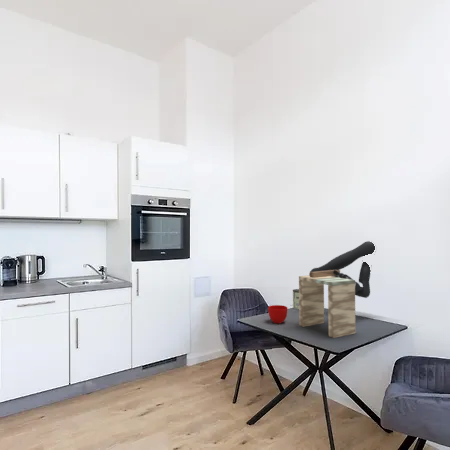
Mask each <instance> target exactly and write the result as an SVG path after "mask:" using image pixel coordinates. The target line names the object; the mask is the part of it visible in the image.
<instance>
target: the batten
mask: <svg viewBox="0 0 450 450" xmlns="http://www.w3.org/2000/svg"><path fill="white" fill-rule="evenodd" d="M336 271H337V272H340V273H341V269H340V270H336ZM333 272H334V270H327V271H316V272H310V271H309V273H310V277H312V278H317V277H327V276H337V275H336V274H334V273H333Z"/></svg>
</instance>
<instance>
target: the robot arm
mask: <svg viewBox="0 0 450 450" xmlns="http://www.w3.org/2000/svg"><path fill="white" fill-rule="evenodd" d="M372 242H373V241H371V242H370V240H367V241H364V242H363V243H361V244H360V245H358V246H356V247H355V248H354V249H351V250H349V251H347V252H344V253H341V254H339V255H337V256H336V257H333V258H332V259H331V260H330V261H328V262H327V263H325V264H324V265H321V266H319V267H314V268H312V269H311V270H310V271H309V275H310V272H316V271H327V270H334V272H333V273H334V274H336V275H337V276H332V277H339V278H345V279H351V280H354V278H352V277H351V276H349V275H348V274H344V273H343V272H341V270H342V269H345V268H346V267H348V266H350V265H351V264H353V263H354V262H355V261H357V260H358V259H361V258H363V256H365V255H368V254H372V253H373V252H374V250H375V246H376V245H375V246H374V244H375V243H374V242H373V243H374V244H373V243H372ZM362 262H363V261H362ZM362 262H361V266H360V270H359V276H358V282H357V281H356V280H355V297H359V298H365V299H367V298H369V296H370V295H371V286H370V278H371V273H370V272H371V271H372V269H371V270H370V267H369V265H368V264H367V263H366V262H363V263H362ZM336 270H340V272H337V271H336ZM360 284H361V285H362V286H361V285H360Z"/></svg>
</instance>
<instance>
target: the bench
mask: <svg viewBox="0 0 450 450" xmlns="http://www.w3.org/2000/svg"><path fill="white" fill-rule="evenodd" d="M355 281H356V279H353V280H351V279H345V278H339V277H332V276H327V277H317V278H312V277H310V275H300V276H298V289H299V309H298V310H299V311H298V315H299V317H298V321H299V322H298V323H299V326H301V327H303V328H304V327H309V326H316V325H321V324H325V286H327V301H328V302H327V303H328V304H327V306H328V308H327V309H328V310H327V311H328V312H327V313H328V315H327V316H328V318H327V319H328V337H329V338H333V339H335V338H339V337H345V336H350V335H353V334H356V330H357V329H356V327H357V326H356V295H355Z"/></svg>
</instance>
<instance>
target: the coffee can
mask: <svg viewBox="0 0 450 450" xmlns="http://www.w3.org/2000/svg"><path fill="white" fill-rule="evenodd" d="M292 308H293V309H294V310H299V288H296V289H294V288H293V289H292Z"/></svg>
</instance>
